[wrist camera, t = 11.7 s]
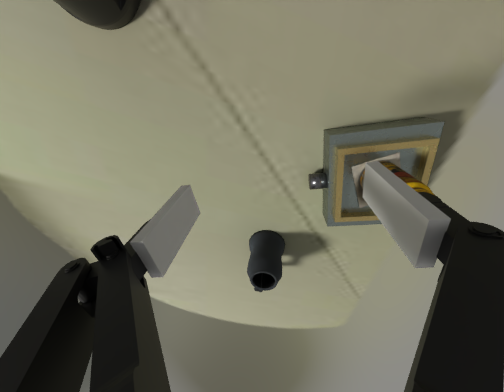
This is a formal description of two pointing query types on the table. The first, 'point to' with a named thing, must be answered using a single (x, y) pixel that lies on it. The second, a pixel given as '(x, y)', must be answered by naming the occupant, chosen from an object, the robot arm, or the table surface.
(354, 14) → the table surface
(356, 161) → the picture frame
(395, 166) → the condiment
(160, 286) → the table surface
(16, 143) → the table surface
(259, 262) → the mug
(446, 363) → the robot arm
